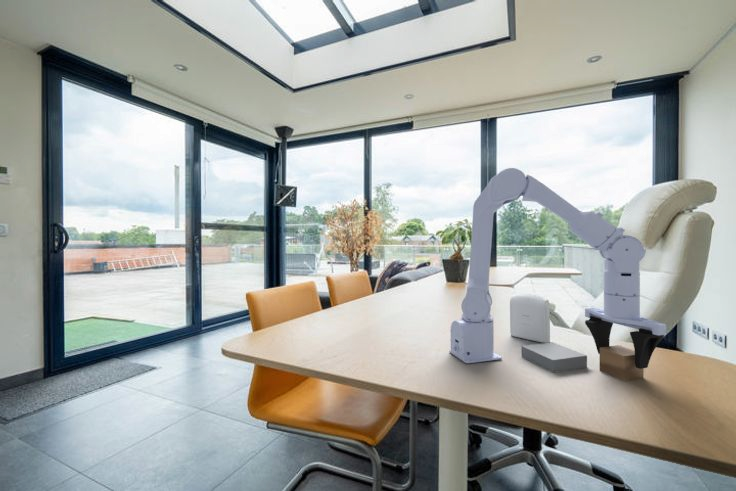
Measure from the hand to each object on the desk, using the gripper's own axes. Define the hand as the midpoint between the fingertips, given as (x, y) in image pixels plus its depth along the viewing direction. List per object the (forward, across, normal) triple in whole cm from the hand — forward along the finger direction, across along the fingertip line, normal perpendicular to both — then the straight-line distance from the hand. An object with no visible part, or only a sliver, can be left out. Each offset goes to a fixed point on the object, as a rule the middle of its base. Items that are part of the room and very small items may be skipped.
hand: (621, 360), depth 64 cm
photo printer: (+3, +24, +1) cm, 24 cm away
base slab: (+3, +9, +8) cm, 13 cm away
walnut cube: (+3, 0, 0) cm, 3 cm away
